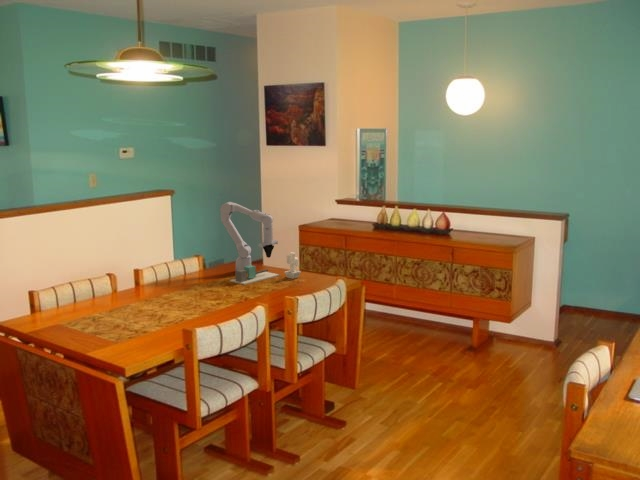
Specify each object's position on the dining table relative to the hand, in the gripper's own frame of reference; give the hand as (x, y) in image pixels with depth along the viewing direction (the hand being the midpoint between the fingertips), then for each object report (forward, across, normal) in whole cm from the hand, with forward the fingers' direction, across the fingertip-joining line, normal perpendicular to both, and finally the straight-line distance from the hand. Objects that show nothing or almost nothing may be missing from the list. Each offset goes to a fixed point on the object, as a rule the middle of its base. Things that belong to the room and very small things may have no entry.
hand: (268, 257), depth 385 cm
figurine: (+10, 0, -20) cm, 22 cm away
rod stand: (+9, -16, -5) cm, 19 cm away
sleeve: (+8, -20, -5) cm, 22 cm away
